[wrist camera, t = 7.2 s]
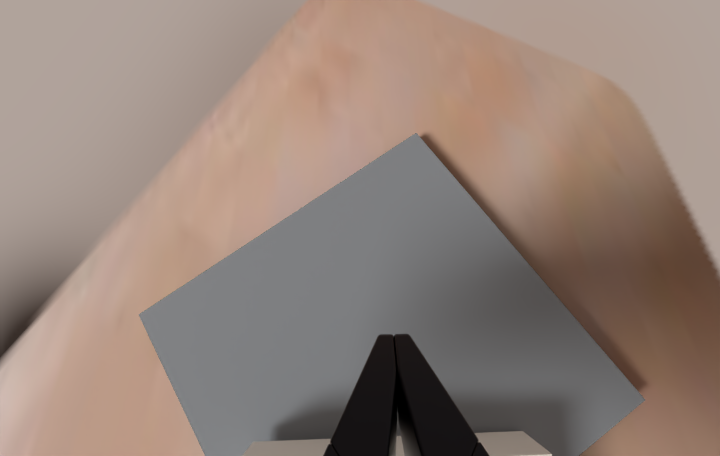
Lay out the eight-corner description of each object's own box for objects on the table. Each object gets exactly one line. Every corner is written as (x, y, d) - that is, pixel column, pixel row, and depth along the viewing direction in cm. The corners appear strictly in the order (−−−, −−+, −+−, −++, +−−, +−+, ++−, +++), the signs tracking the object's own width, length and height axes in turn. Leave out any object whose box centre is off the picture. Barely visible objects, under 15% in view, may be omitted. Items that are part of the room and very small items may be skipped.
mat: (633, 396, 17) (645, 399, 16) (314, 661, 15) (310, 679, 14) (415, 139, 21) (416, 132, 20) (148, 315, 19) (138, 314, 18)
